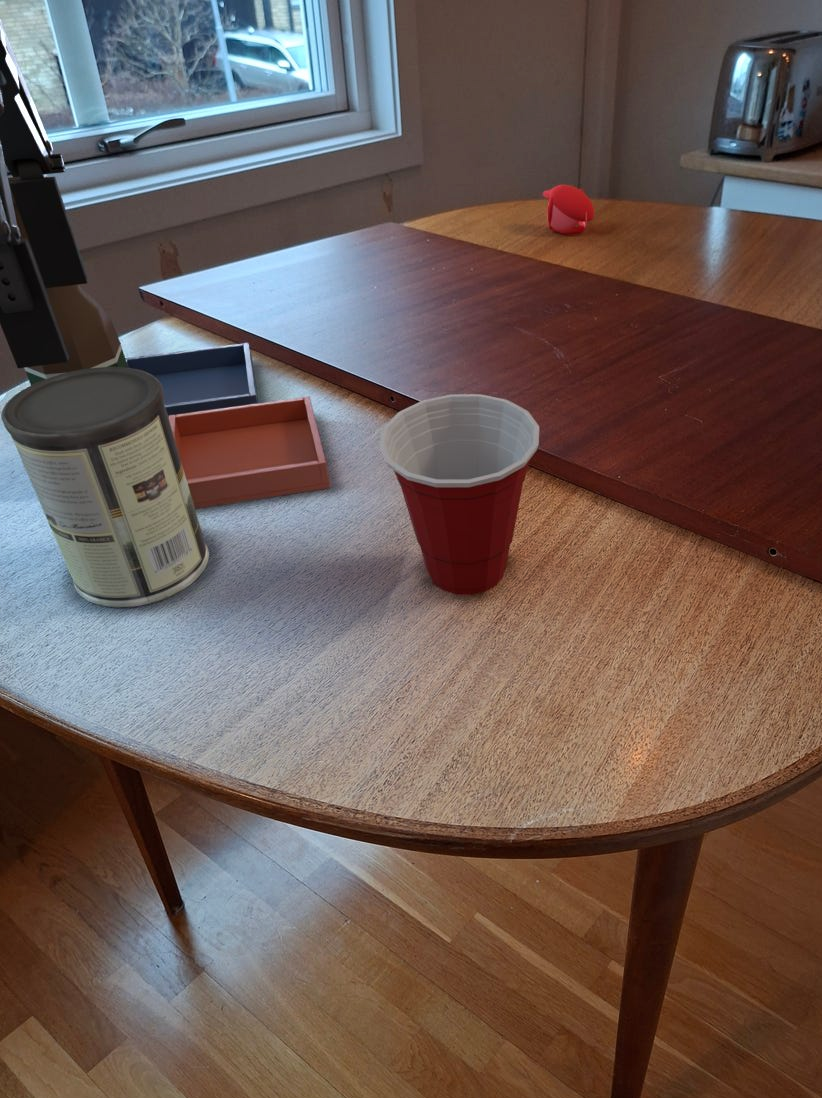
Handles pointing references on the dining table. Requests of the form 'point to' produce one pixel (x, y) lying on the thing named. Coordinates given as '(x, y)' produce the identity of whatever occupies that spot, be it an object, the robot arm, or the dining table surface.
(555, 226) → the cap
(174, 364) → the slate tray
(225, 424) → the terracotta tray
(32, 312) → the robot arm
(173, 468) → the coffee can
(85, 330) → the beer bottle
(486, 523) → the plastic cup
